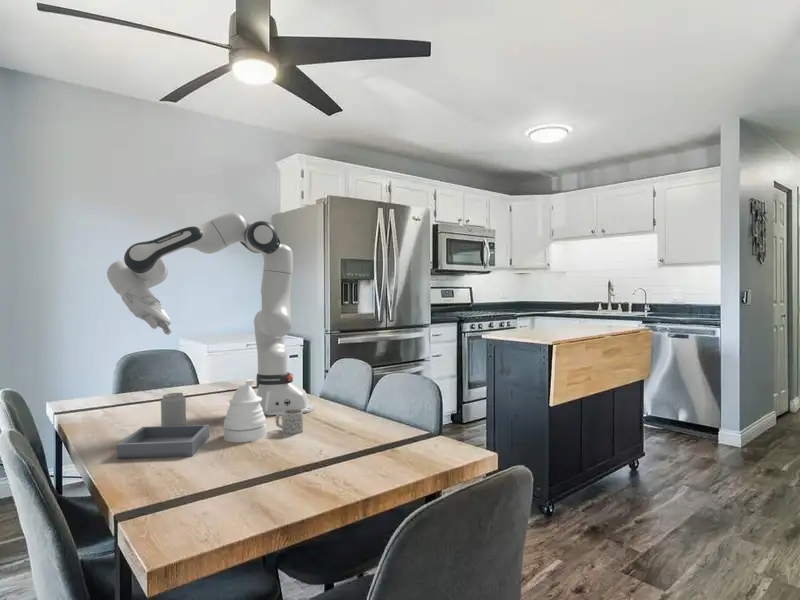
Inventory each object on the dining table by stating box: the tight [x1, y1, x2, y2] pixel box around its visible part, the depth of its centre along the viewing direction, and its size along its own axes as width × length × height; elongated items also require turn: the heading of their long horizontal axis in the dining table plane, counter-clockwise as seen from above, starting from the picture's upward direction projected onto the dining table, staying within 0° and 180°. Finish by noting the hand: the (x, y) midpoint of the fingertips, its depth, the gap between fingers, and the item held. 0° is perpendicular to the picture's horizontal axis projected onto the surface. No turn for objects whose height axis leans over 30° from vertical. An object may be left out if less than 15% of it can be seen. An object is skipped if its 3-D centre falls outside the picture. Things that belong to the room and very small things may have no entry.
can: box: [160, 392, 187, 426], centre depth 169 cm, size 8×8×12 cm
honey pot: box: [223, 379, 267, 443], centre depth 162 cm, size 13×13×18 cm
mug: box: [275, 409, 304, 436], centre depth 167 cm, size 10×7×7 cm
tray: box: [116, 424, 211, 460], centre depth 151 cm, size 20×18×4 cm
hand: (162, 330), depth 171 cm, fingers open, 8 cm apart
